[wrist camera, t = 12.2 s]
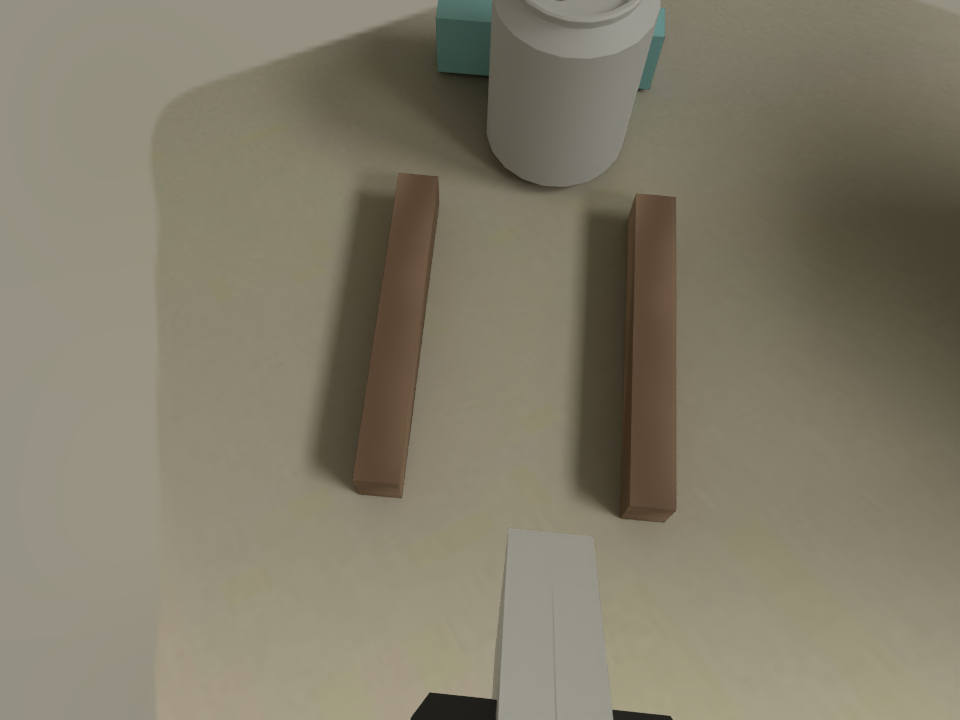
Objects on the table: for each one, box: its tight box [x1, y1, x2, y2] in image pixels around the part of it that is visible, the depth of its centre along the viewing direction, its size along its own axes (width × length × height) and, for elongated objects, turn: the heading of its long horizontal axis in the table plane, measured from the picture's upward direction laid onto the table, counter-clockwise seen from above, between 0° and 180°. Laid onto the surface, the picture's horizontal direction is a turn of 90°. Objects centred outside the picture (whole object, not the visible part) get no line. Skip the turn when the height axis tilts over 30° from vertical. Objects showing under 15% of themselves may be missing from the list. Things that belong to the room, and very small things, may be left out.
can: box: [487, 0, 661, 187], centre depth 42 cm, size 8×8×12 cm
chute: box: [352, 173, 676, 522], centre depth 41 cm, size 14×16×2 cm
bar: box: [436, 0, 665, 89], centre depth 47 cm, size 12×2×4 cm, turn 85°
